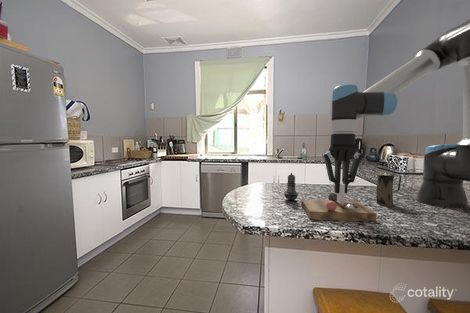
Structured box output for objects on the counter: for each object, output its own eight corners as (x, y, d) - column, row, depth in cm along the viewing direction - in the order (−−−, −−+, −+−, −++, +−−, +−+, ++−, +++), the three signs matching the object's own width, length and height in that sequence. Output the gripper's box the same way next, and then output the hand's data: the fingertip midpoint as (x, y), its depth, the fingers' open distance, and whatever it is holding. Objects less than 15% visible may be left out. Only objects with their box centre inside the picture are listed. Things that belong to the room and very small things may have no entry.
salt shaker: (299, 204, 88) (299, 173, 87) (283, 203, 89) (284, 173, 88) (297, 200, 94) (298, 171, 93) (283, 199, 95) (283, 171, 94)
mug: (379, 205, 86) (381, 174, 85) (373, 201, 91) (374, 172, 90) (402, 206, 84) (404, 175, 83) (395, 202, 90) (396, 173, 89)
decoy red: (334, 209, 73) (335, 199, 73) (338, 212, 70) (338, 202, 70) (324, 208, 74) (324, 199, 74) (327, 212, 71) (327, 202, 70)
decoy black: (335, 200, 84) (336, 192, 84) (339, 202, 81) (339, 194, 81) (327, 200, 84) (327, 191, 84) (329, 202, 81) (330, 193, 81)
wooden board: (356, 207, 83) (356, 201, 83) (376, 221, 69) (376, 213, 69) (301, 206, 85) (301, 199, 85) (309, 219, 71) (309, 211, 71)
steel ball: (354, 208, 78) (349, 201, 78) (358, 211, 75) (353, 204, 75) (346, 213, 79) (341, 206, 79) (350, 217, 75) (344, 209, 75)
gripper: (358, 133, 78) (355, 200, 80) (319, 133, 80) (317, 199, 81) (369, 132, 71) (365, 206, 73) (326, 133, 72) (323, 205, 74)
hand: (340, 202), depth 77 cm, fingers closed
